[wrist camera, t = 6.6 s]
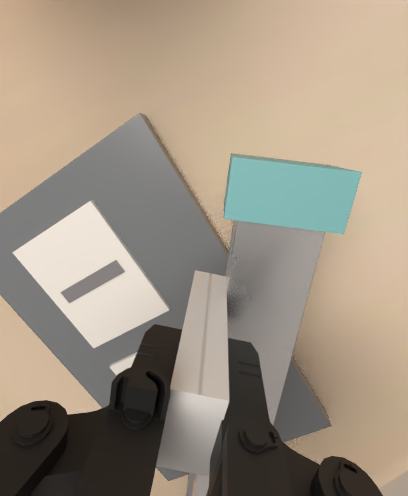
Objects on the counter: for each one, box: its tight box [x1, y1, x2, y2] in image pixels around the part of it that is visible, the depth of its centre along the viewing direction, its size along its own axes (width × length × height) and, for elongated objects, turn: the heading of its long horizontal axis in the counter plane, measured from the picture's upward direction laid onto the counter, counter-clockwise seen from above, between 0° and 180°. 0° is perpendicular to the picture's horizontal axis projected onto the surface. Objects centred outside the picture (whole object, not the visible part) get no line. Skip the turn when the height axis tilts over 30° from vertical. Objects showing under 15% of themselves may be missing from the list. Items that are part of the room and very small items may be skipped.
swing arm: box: [192, 153, 362, 496], centre depth 15 cm, size 26×4×3 cm, turn 174°
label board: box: [0, 113, 331, 496], centre depth 20 cm, size 16×27×6 cm, turn 31°
